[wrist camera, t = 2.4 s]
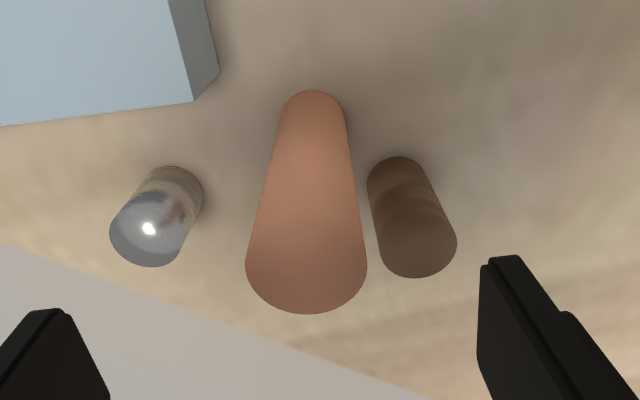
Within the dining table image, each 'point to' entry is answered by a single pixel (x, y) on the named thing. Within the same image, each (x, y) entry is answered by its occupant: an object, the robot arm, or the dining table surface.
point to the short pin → (157, 217)
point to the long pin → (308, 213)
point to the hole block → (101, 56)
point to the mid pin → (409, 219)
